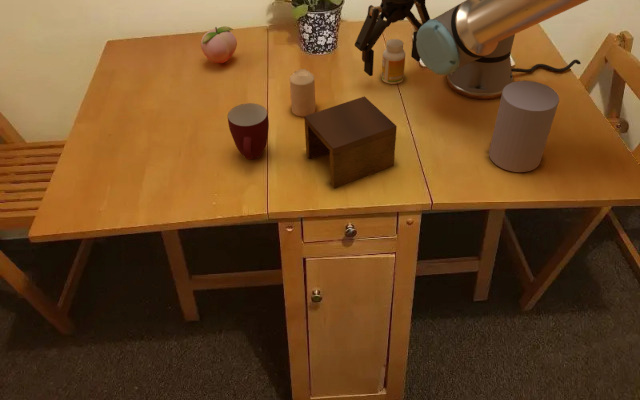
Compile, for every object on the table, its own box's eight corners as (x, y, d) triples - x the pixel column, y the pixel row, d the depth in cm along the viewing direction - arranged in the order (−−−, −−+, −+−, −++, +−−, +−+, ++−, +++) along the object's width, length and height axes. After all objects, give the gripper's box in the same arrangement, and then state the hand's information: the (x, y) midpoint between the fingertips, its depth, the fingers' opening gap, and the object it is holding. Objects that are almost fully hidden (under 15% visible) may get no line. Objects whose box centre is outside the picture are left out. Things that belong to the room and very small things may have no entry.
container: (484, 141, 124) (497, 80, 113) (533, 141, 123) (551, 80, 113) (493, 173, 116) (508, 111, 106) (545, 173, 116) (565, 111, 106)
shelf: (363, 135, 127) (364, 96, 120) (393, 165, 119) (396, 126, 112) (306, 155, 122) (304, 115, 115) (333, 188, 114) (333, 148, 107)
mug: (274, 171, 119) (270, 131, 112) (234, 175, 118) (227, 136, 111) (270, 139, 126) (266, 101, 119) (233, 143, 126) (226, 105, 119)
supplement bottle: (407, 78, 143) (411, 42, 136) (394, 87, 140) (397, 50, 133) (390, 70, 146) (392, 34, 139) (377, 79, 143) (378, 43, 136)
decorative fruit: (221, 50, 155) (215, 15, 148) (244, 59, 152) (239, 23, 145) (196, 66, 150) (189, 30, 143) (219, 75, 146) (213, 38, 139)
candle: (312, 118, 132) (311, 79, 125) (289, 115, 133) (286, 77, 126) (317, 104, 136) (316, 66, 129) (294, 102, 137) (292, 64, 130)
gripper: (435, -38, 132) (425, 46, 147) (340, -15, 124) (339, 72, 139) (456, -27, 128) (443, 59, 142) (358, -1, 119) (355, 87, 134)
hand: (392, 65), depth 141 cm, fingers open, 13 cm apart
